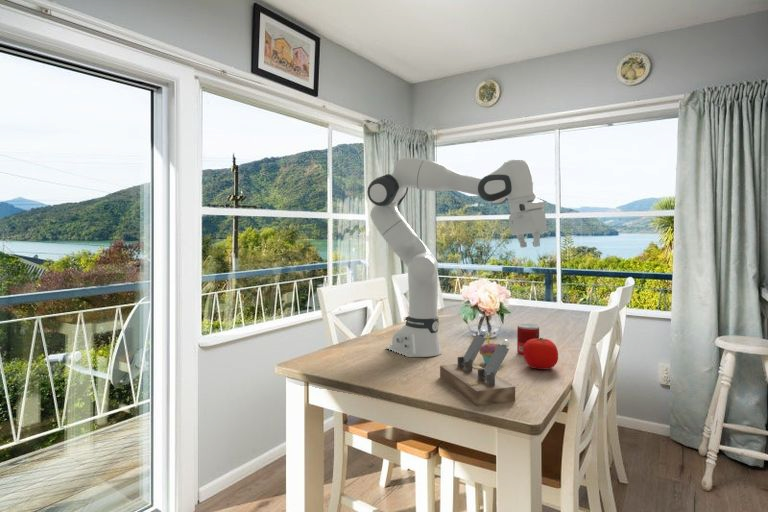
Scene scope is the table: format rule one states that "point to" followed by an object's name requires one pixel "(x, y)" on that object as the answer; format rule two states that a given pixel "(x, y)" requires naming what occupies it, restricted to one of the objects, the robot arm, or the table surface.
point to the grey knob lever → (474, 347)
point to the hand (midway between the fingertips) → (530, 247)
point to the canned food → (526, 335)
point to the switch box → (477, 383)
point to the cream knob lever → (497, 358)
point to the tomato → (540, 353)
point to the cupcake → (487, 350)
